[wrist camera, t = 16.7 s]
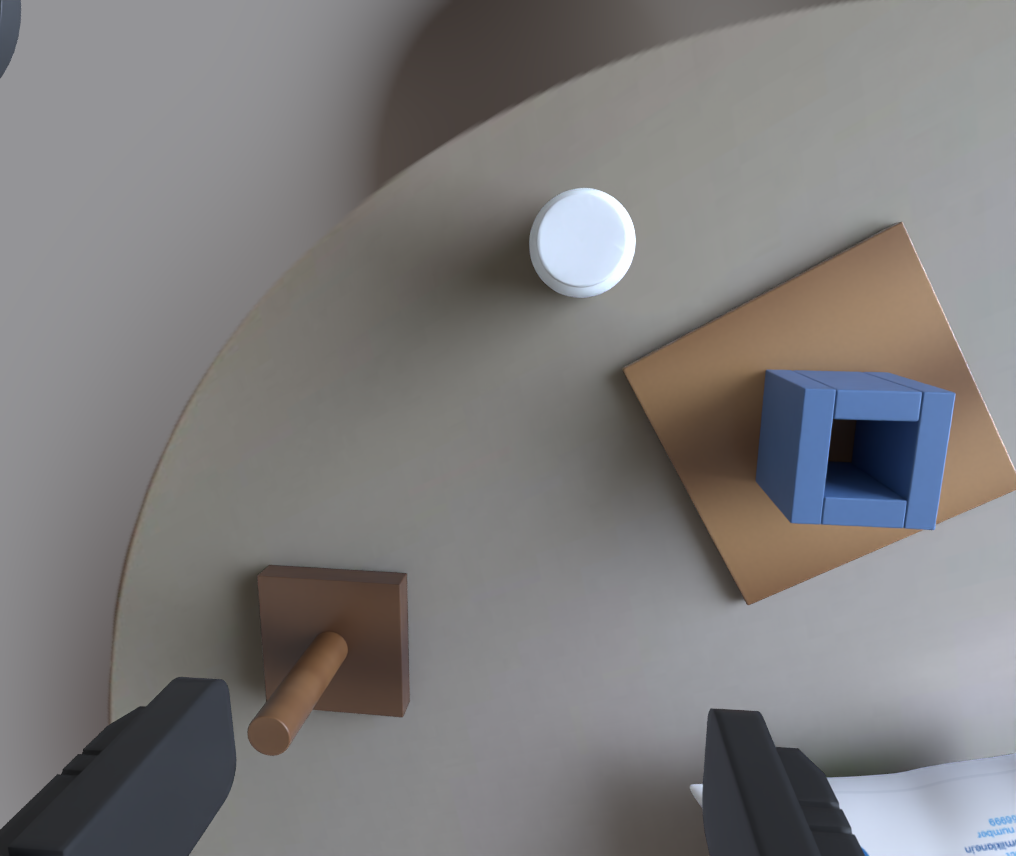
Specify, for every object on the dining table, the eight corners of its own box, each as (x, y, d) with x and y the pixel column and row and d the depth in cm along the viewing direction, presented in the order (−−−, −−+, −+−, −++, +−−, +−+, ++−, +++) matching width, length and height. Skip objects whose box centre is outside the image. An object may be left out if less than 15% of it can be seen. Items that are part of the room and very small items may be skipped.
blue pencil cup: (765, 369, 32) (804, 388, 27) (888, 372, 32) (956, 392, 26) (755, 481, 34) (790, 523, 28) (873, 486, 33) (935, 530, 27)
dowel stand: (269, 564, 38) (175, 648, 30) (407, 572, 37) (352, 661, 29) (277, 690, 40) (191, 805, 31) (409, 701, 39) (358, 822, 30)
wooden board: (621, 367, 34) (622, 369, 33) (897, 222, 31) (902, 221, 30) (745, 600, 36) (747, 606, 35) (1016, 483, 33) (1024, 487, 32)
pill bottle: (639, 214, 32) (656, 194, 25) (613, 305, 33) (621, 312, 26) (550, 192, 32) (539, 164, 25) (527, 283, 33) (509, 283, 26)
